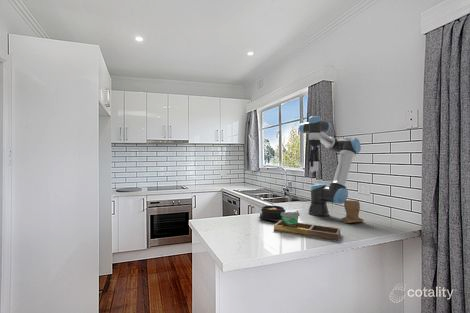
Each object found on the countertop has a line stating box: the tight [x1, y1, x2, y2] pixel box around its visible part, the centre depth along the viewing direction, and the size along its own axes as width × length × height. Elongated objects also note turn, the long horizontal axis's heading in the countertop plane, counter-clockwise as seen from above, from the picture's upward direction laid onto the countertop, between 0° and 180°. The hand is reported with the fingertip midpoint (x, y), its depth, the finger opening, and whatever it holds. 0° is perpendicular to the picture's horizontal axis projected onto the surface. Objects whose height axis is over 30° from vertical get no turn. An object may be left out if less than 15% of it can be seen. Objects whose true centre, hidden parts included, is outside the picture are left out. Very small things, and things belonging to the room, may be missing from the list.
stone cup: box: [341, 199, 365, 224], centre depth 174 cm, size 15×12×15 cm
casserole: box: [259, 205, 286, 222], centre depth 178 cm, size 25×19×8 cm
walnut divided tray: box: [273, 220, 341, 242], centre depth 148 cm, size 13×36×4 cm, turn 62°
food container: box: [281, 210, 300, 228], centre depth 151 cm, size 12×6×10 cm, turn 113°
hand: (314, 171), depth 169 cm, fingers open, 13 cm apart
